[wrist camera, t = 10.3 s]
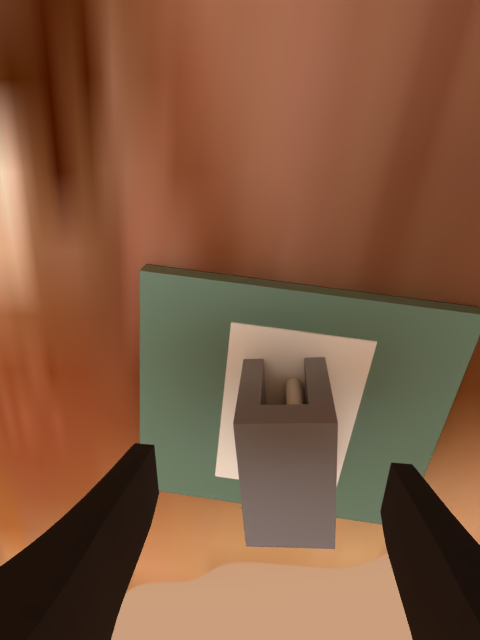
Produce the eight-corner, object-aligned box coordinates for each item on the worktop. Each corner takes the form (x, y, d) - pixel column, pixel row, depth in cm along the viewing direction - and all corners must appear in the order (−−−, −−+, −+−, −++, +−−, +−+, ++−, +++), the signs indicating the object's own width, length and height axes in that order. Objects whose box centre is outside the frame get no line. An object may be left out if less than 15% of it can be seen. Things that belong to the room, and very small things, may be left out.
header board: (477, 306, 19) (516, 341, 16) (398, 513, 25) (415, 567, 22) (146, 264, 20) (120, 289, 17) (144, 475, 26) (125, 523, 23)
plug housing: (324, 357, 20) (337, 423, 15) (324, 466, 23) (334, 548, 18) (243, 359, 20) (233, 423, 16) (252, 465, 23) (246, 546, 19)
